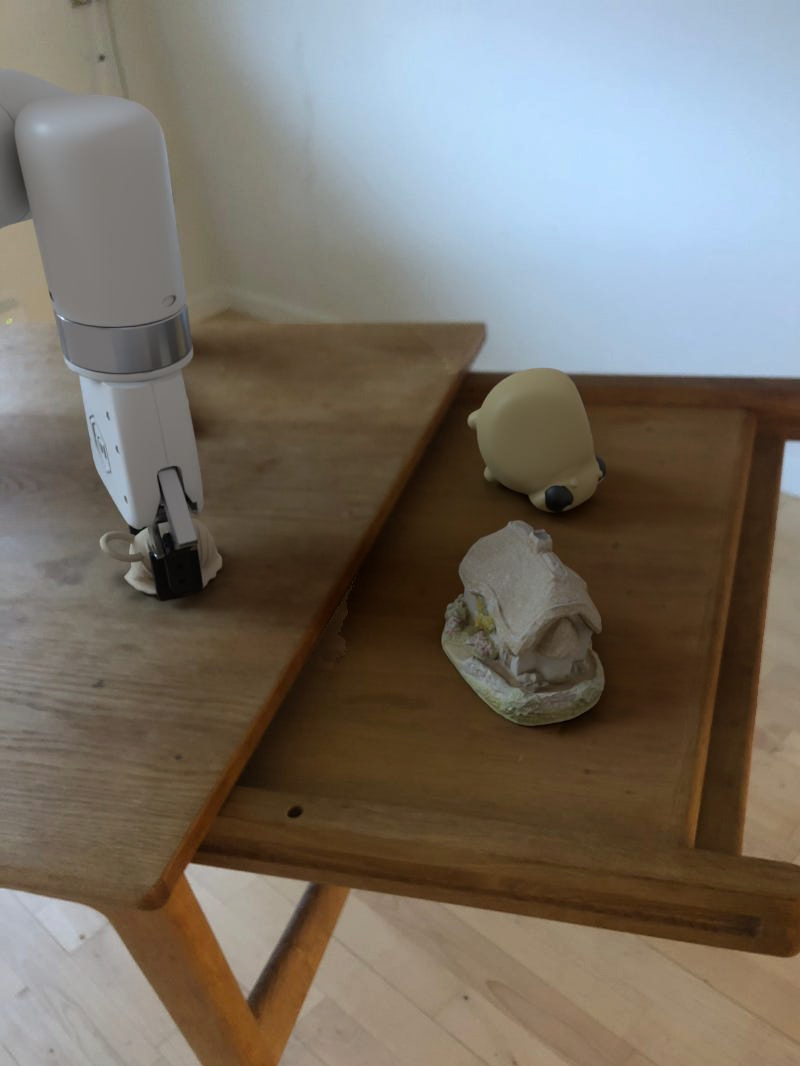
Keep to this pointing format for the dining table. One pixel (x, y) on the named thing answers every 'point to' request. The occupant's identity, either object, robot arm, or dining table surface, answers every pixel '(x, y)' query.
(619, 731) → the dining table surface
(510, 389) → the toy pig
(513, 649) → the ceramic model
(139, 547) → the decorative ornament
